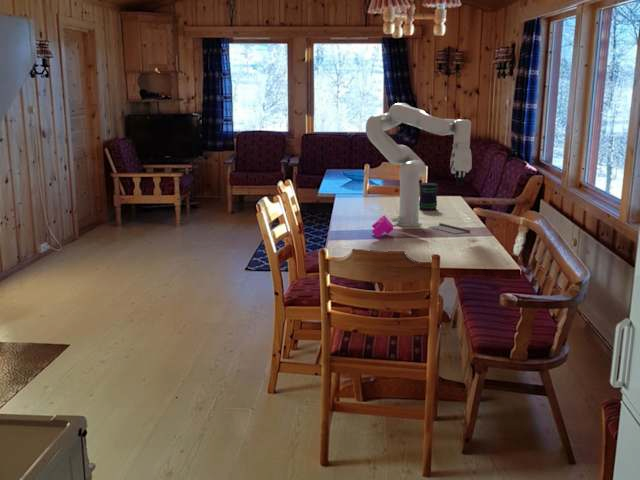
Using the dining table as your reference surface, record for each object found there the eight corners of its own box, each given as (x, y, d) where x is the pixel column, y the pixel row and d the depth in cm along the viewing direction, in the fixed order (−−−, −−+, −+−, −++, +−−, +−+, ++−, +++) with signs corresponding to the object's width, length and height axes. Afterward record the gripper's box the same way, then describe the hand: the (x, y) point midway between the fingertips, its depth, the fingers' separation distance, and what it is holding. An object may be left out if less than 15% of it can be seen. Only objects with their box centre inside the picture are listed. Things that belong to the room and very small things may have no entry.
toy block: (392, 224, 302) (380, 235, 303) (384, 215, 301) (372, 225, 302) (393, 231, 287) (381, 242, 289) (384, 220, 286) (371, 231, 288)
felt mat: (455, 234, 297) (455, 233, 297) (429, 227, 312) (429, 226, 312) (466, 232, 301) (466, 231, 301) (439, 226, 316) (439, 225, 316)
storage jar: (423, 212, 355) (424, 185, 352) (416, 209, 364) (417, 182, 361) (439, 211, 358) (440, 184, 354) (432, 208, 367) (433, 182, 364)
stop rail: (468, 232, 301) (468, 230, 300) (439, 225, 317) (439, 223, 317) (470, 232, 301) (470, 229, 301) (440, 225, 318) (440, 223, 317)
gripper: (455, 147, 295) (453, 187, 299) (478, 146, 303) (476, 185, 307) (444, 146, 301) (442, 185, 305) (467, 145, 309) (465, 183, 313)
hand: (459, 185), depth 306 cm, fingers closed
